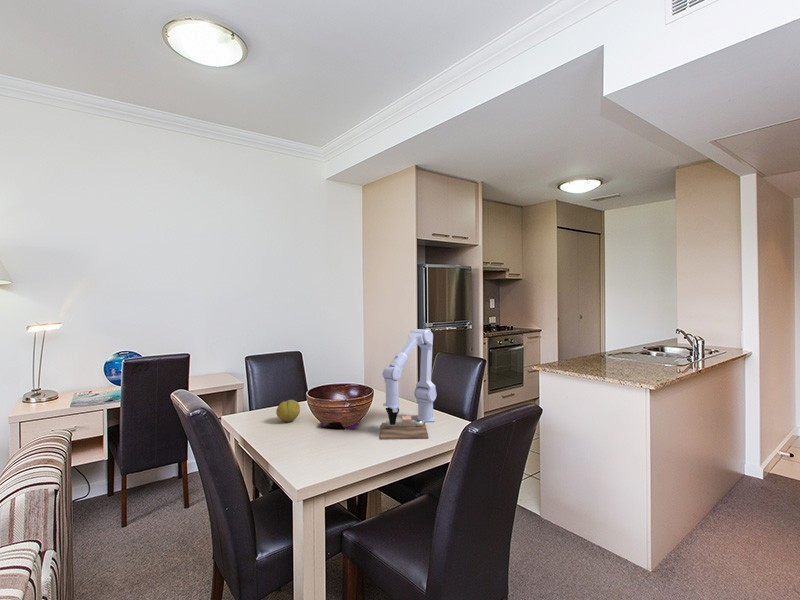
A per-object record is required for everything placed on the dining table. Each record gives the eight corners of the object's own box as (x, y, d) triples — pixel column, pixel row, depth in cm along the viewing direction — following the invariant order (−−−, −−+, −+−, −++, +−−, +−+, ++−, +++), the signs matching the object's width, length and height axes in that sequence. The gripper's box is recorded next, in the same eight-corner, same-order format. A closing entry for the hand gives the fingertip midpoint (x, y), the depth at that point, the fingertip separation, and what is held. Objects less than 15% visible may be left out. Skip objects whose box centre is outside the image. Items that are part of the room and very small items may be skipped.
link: (423, 423, 188) (423, 419, 188) (423, 426, 184) (423, 422, 184) (386, 424, 188) (385, 419, 188) (385, 427, 184) (385, 422, 184)
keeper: (420, 423, 190) (420, 414, 190) (421, 427, 183) (421, 419, 183) (402, 423, 190) (402, 415, 190) (402, 428, 183) (402, 419, 183)
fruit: (305, 420, 199) (305, 400, 199) (284, 426, 190) (283, 404, 190) (293, 416, 207) (293, 396, 207) (271, 421, 198) (271, 400, 198)
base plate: (381, 424, 191) (381, 422, 191) (424, 424, 192) (424, 421, 192) (380, 439, 171) (380, 437, 171) (428, 438, 172) (428, 436, 172)
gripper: (380, 390, 188) (381, 420, 188) (385, 398, 174) (386, 430, 174) (395, 389, 189) (396, 419, 190) (402, 397, 175) (402, 428, 175)
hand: (392, 424), depth 182 cm, fingers closed
